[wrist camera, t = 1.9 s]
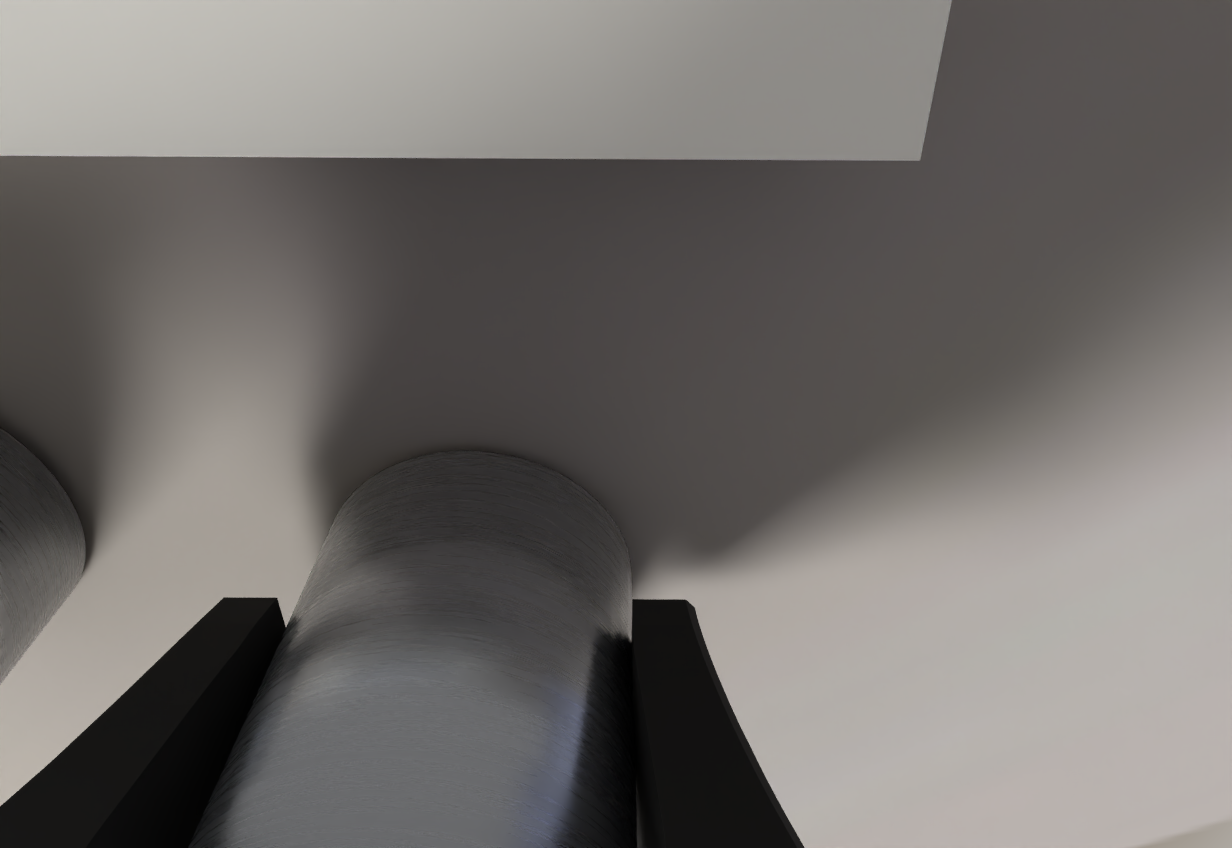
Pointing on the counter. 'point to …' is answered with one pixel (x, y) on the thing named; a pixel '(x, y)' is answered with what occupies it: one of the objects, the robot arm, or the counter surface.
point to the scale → (470, 78)
